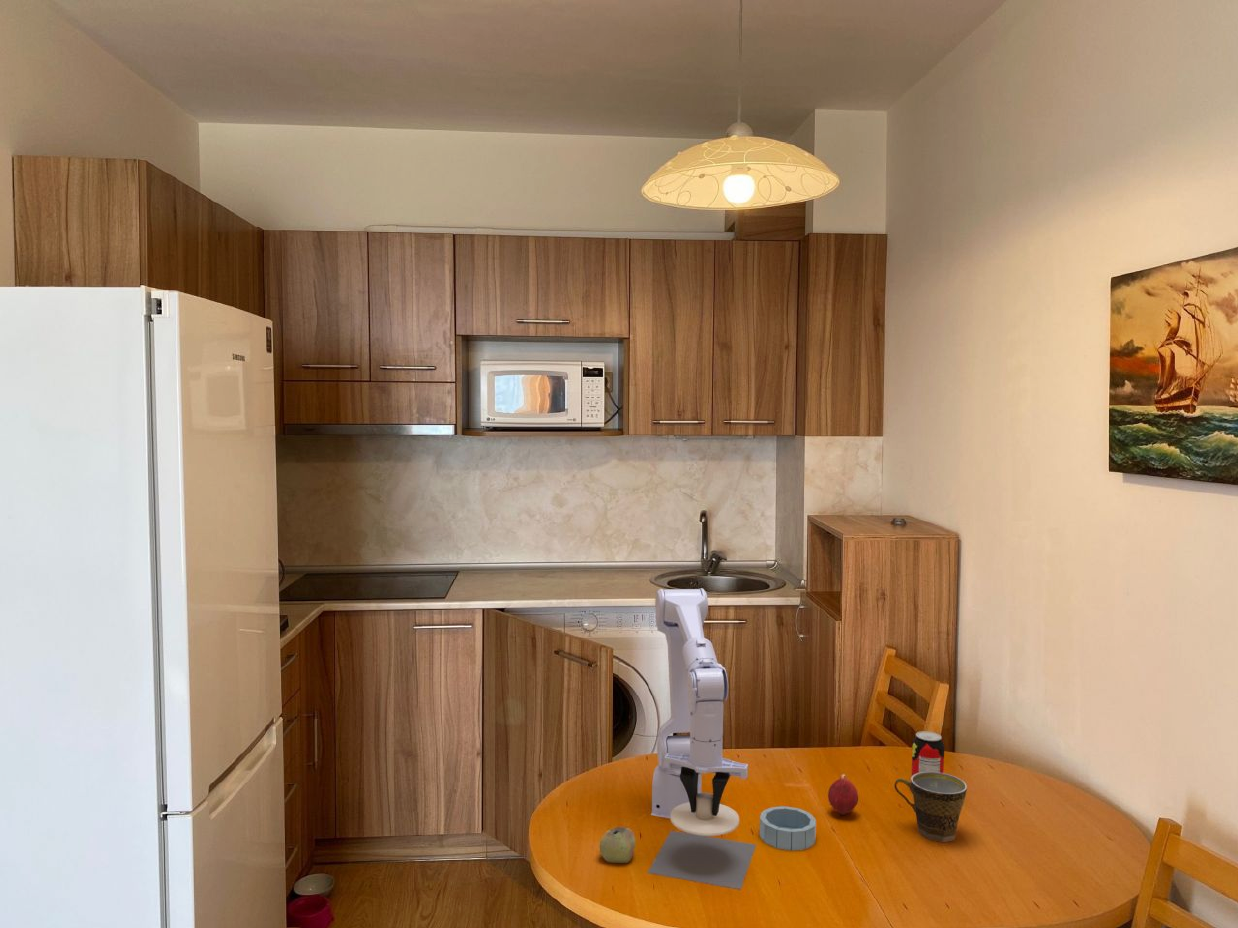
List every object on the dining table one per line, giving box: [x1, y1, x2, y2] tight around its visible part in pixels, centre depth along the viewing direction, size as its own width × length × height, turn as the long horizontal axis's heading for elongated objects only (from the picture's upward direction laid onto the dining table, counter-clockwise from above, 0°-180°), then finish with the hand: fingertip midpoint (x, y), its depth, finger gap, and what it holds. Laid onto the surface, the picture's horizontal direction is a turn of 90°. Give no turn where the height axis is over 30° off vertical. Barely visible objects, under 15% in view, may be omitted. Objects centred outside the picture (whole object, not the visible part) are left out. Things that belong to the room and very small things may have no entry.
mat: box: [647, 830, 757, 890], centre depth 158 cm, size 16×16×1 cm
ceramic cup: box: [893, 772, 968, 843], centre depth 170 cm, size 13×10×10 cm
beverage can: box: [910, 730, 945, 778], centre depth 188 cm, size 6×6×12 cm
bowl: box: [759, 805, 817, 852], centre depth 166 cm, size 10×10×4 cm
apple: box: [599, 826, 637, 864], centre depth 158 cm, size 6×8×6 cm
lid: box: [670, 791, 740, 837], centre depth 158 cm, size 12×12×4 cm
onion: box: [827, 773, 859, 816], centre depth 177 cm, size 6×6×8 cm
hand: (704, 811), depth 158 cm, fingers closed on lid, 3 cm apart
